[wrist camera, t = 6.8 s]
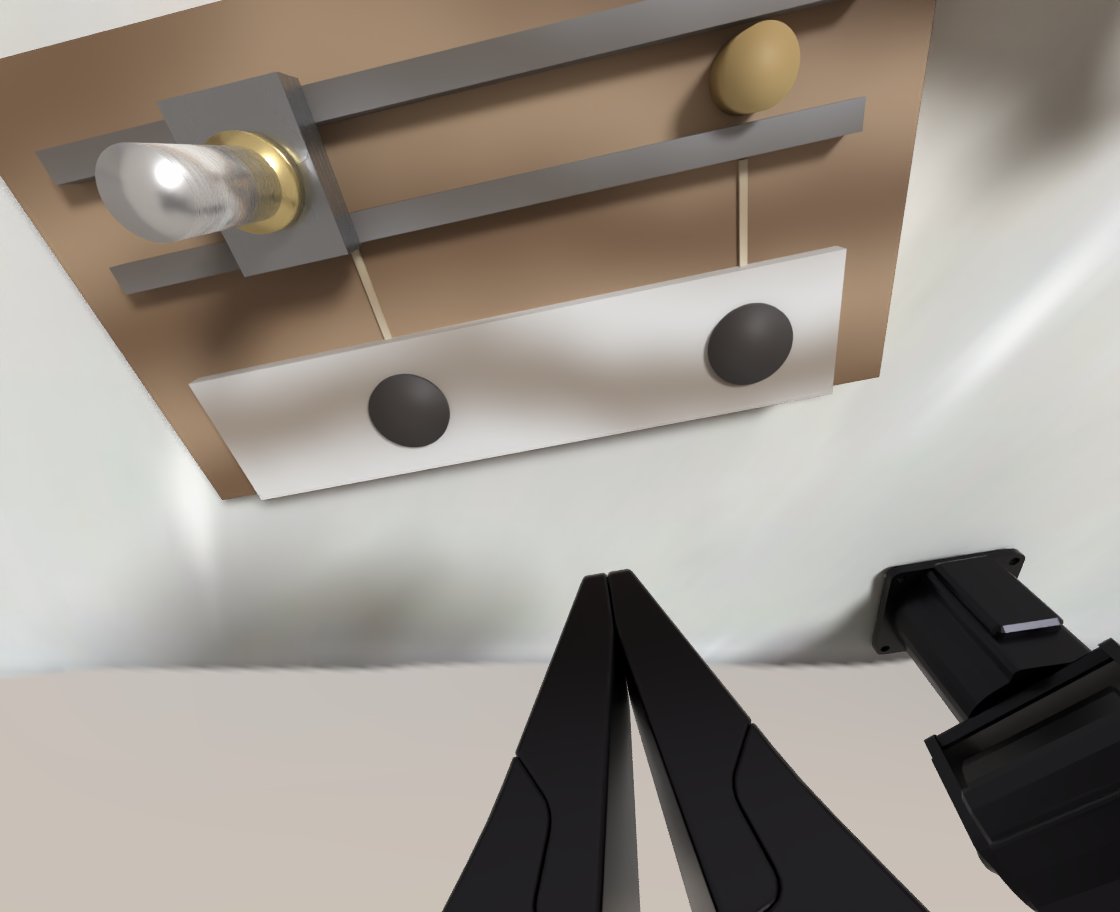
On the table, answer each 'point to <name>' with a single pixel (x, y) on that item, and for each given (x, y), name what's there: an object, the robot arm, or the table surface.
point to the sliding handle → (234, 177)
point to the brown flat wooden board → (496, 220)
